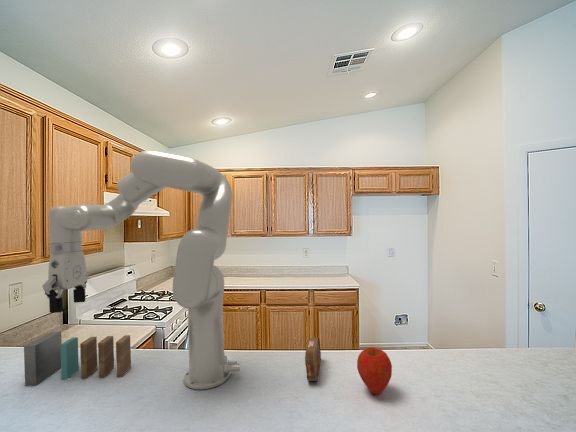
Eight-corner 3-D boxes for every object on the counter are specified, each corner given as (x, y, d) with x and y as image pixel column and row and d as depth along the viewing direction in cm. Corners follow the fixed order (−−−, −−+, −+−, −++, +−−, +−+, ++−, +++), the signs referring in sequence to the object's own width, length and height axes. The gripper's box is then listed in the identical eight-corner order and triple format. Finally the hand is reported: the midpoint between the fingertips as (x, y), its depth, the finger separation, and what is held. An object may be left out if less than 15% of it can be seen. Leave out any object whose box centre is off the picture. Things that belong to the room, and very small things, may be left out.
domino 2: (97, 369, 91) (96, 336, 91) (86, 378, 86) (85, 343, 86) (92, 369, 91) (91, 336, 91) (81, 378, 86) (80, 343, 86)
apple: (350, 388, 77) (349, 345, 77) (377, 379, 80) (375, 339, 80) (372, 407, 69) (371, 360, 69) (400, 397, 73) (399, 352, 73)
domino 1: (78, 370, 90) (77, 337, 90) (67, 379, 85) (66, 344, 85) (73, 370, 90) (72, 337, 90) (61, 379, 85) (60, 344, 85)
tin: (316, 388, 78) (315, 355, 78) (304, 387, 78) (303, 354, 78) (321, 360, 92) (320, 332, 92) (311, 359, 93) (310, 332, 93)
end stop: (62, 367, 93) (61, 331, 93) (36, 385, 83) (35, 345, 83) (52, 367, 93) (51, 332, 93) (25, 386, 83) (23, 346, 83)
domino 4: (131, 368, 91) (130, 335, 91) (122, 376, 86) (121, 342, 86) (125, 368, 91) (124, 335, 91) (116, 377, 86) (115, 342, 86)
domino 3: (114, 368, 91) (113, 335, 91) (104, 377, 86) (103, 342, 86) (108, 369, 91) (107, 336, 91) (99, 378, 86) (98, 343, 86)
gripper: (58, 251, 79) (60, 316, 79) (97, 245, 97) (99, 298, 97) (28, 252, 79) (31, 317, 79) (73, 246, 96) (75, 299, 96)
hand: (68, 306), depth 88 cm, fingers open, 9 cm apart
